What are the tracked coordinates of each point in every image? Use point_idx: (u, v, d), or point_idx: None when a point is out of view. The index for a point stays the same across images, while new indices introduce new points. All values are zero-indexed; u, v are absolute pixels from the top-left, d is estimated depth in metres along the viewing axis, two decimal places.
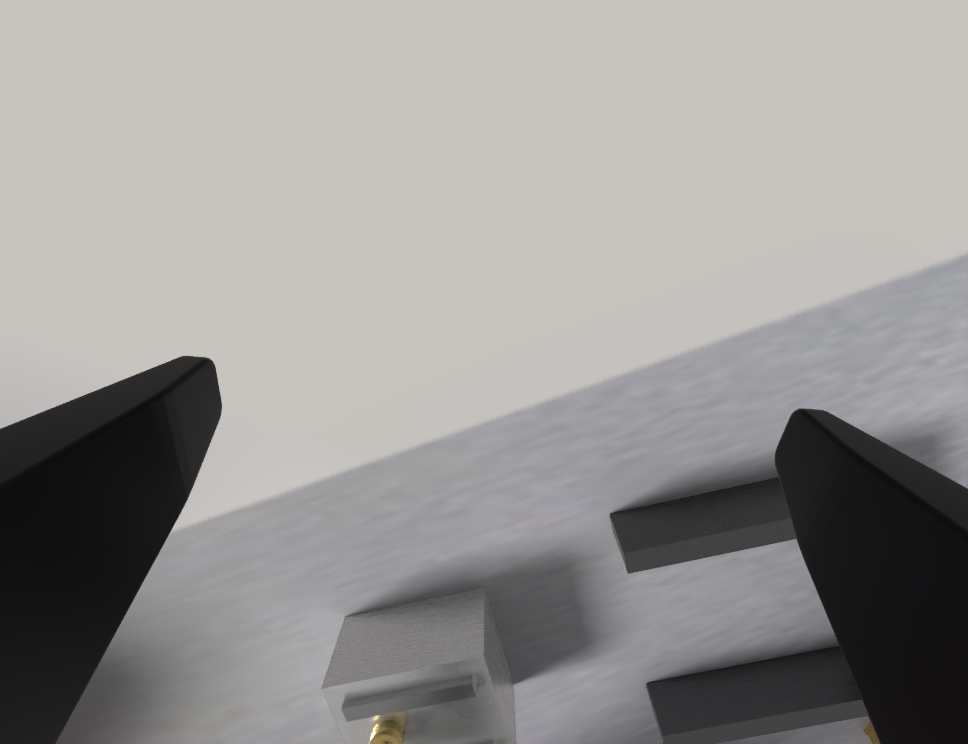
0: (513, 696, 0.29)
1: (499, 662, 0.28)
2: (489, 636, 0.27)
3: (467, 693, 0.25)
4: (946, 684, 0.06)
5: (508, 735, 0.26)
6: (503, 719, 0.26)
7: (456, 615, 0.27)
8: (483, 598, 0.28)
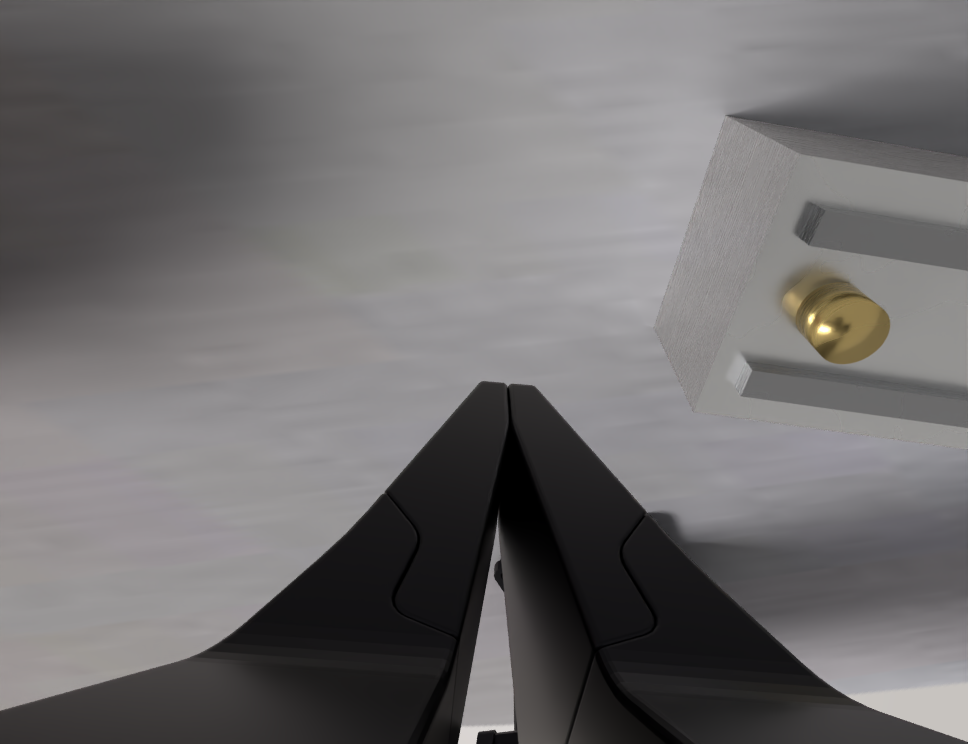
0: None
1: None
2: None
3: None
4: (534, 653, 0.06)
5: None
6: None
7: None
8: None
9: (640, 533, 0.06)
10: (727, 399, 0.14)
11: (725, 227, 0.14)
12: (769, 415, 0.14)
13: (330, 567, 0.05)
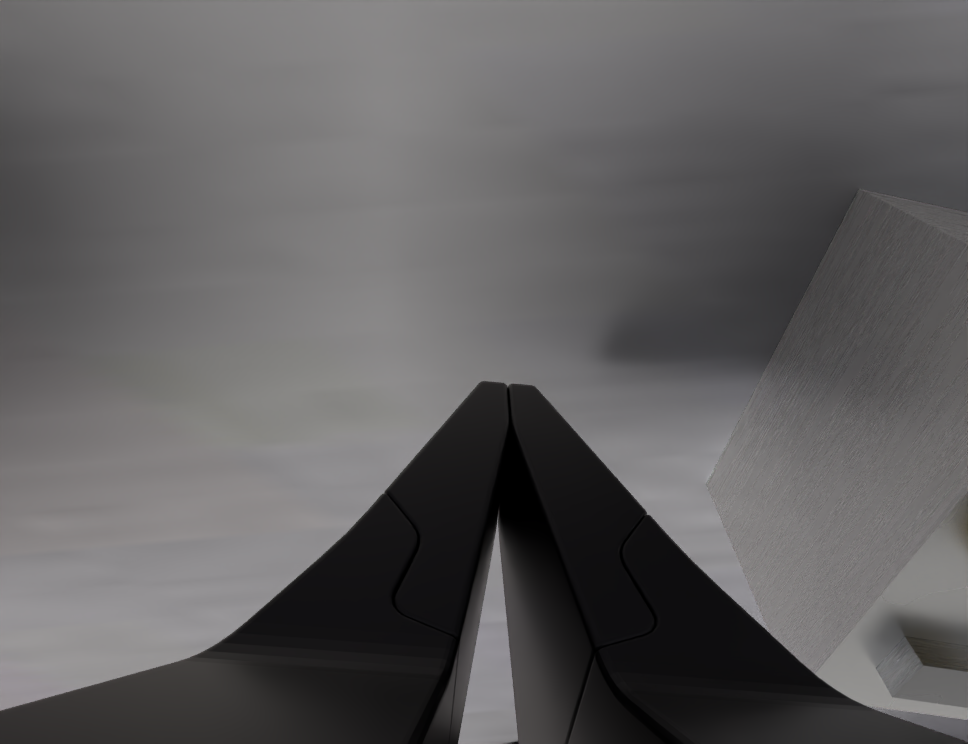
0: None
1: None
2: None
3: None
4: (533, 653, 0.06)
5: None
6: None
7: None
8: None
9: (640, 533, 0.06)
10: (859, 682, 0.08)
11: (869, 389, 0.08)
12: (924, 704, 0.08)
13: (330, 567, 0.05)
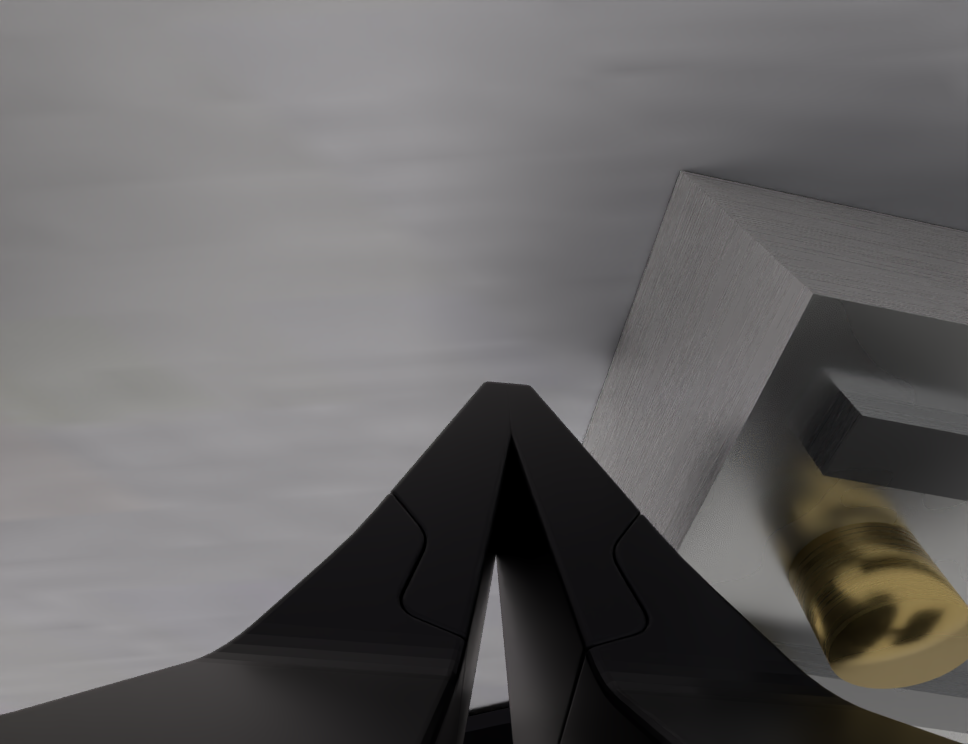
0: None
1: None
2: None
3: None
4: (527, 653, 0.06)
5: None
6: None
7: None
8: None
9: (633, 532, 0.06)
10: None
11: (672, 375, 0.08)
12: None
13: (337, 568, 0.05)
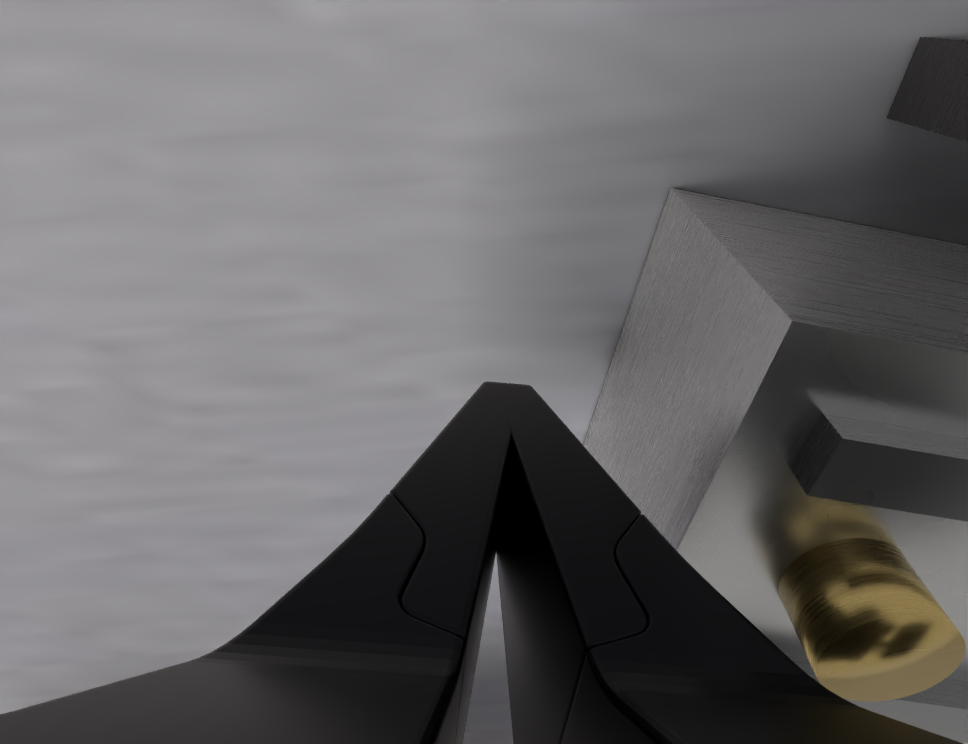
0: None
1: None
2: None
3: None
4: (528, 653, 0.06)
5: None
6: None
7: None
8: None
9: (634, 532, 0.06)
10: None
11: (662, 392, 0.08)
12: None
13: (337, 568, 0.05)
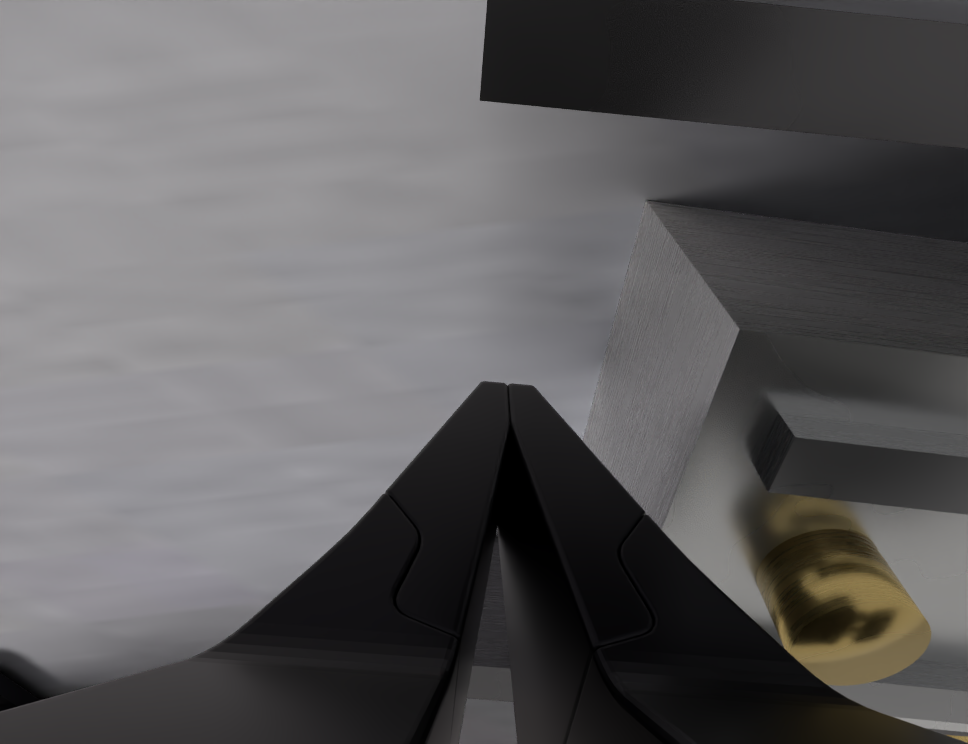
0: None
1: None
2: None
3: None
4: (532, 653, 0.06)
5: None
6: None
7: None
8: None
9: (638, 533, 0.06)
10: None
11: (640, 395, 0.08)
12: None
13: (331, 567, 0.05)
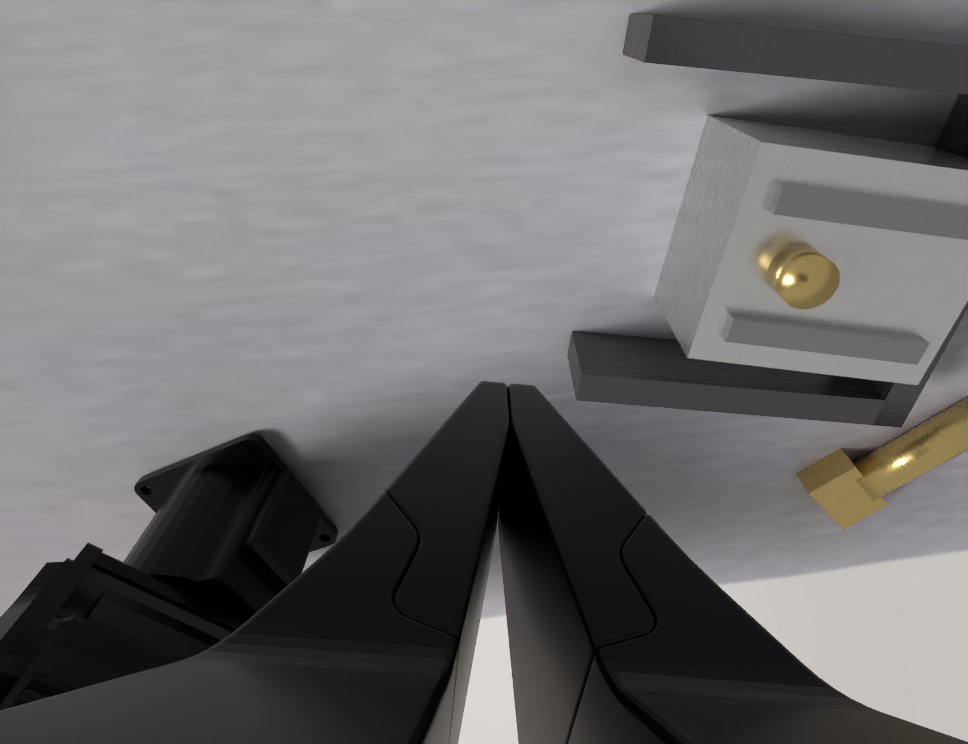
0: None
1: None
2: None
3: None
4: (533, 653, 0.06)
5: (943, 336, 0.17)
6: (961, 307, 0.17)
7: (919, 150, 0.17)
8: (943, 151, 0.18)
9: (640, 533, 0.06)
10: (714, 345, 0.17)
11: (709, 204, 0.17)
12: (750, 359, 0.17)
13: (330, 567, 0.05)
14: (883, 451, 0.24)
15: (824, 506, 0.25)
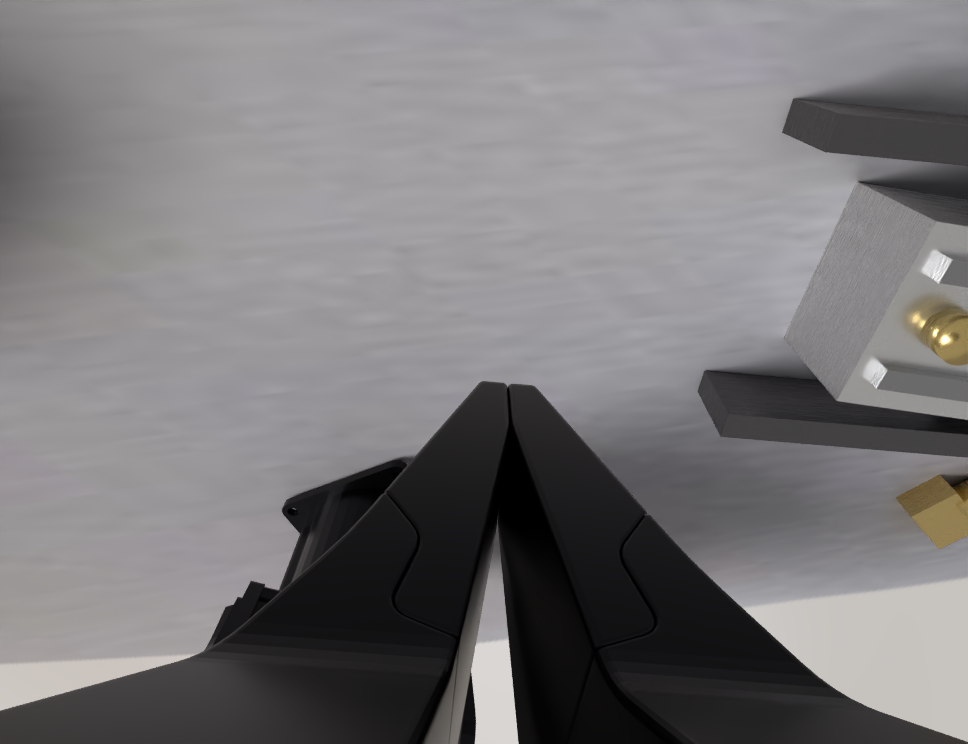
0: None
1: None
2: None
3: None
4: (534, 653, 0.06)
5: None
6: None
7: None
8: None
9: (640, 532, 0.06)
10: (863, 391, 0.19)
11: (862, 265, 0.19)
12: (892, 403, 0.20)
13: (330, 568, 0.05)
14: None
15: (924, 528, 0.27)
